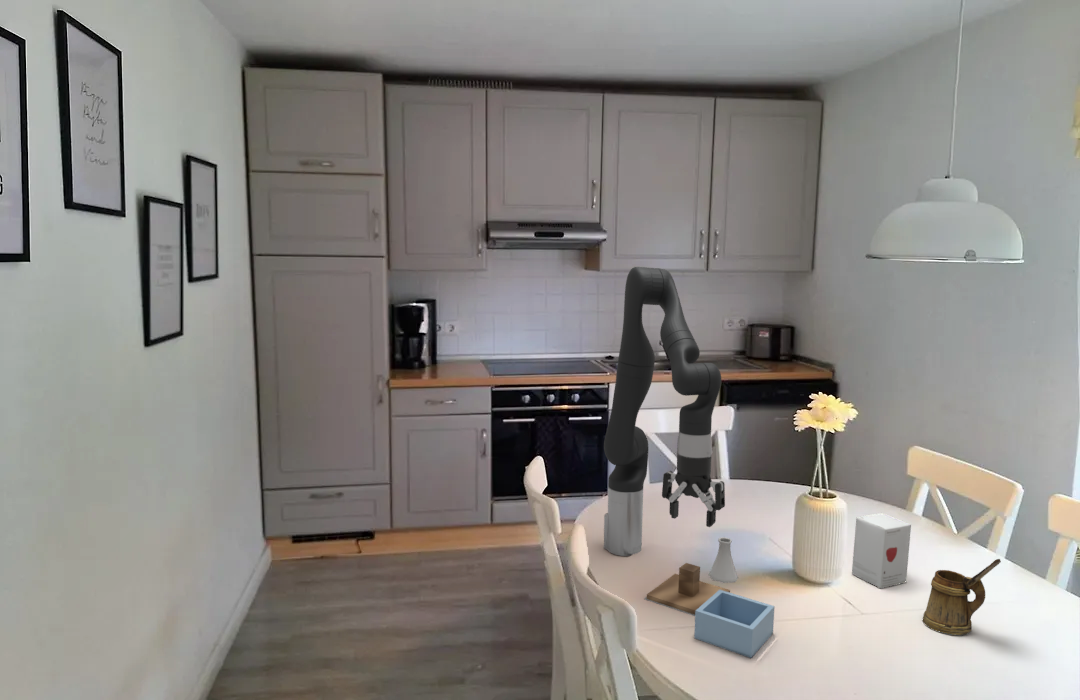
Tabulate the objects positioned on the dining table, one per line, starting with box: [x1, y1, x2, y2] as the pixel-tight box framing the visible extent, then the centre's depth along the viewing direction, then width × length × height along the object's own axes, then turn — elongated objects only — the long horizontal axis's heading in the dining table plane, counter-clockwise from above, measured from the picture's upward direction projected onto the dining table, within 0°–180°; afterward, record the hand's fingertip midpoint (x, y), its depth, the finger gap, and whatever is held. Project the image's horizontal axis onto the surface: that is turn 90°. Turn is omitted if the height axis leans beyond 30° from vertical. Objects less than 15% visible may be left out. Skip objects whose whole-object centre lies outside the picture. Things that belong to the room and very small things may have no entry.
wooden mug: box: [922, 558, 1001, 636], centre depth 152 cm, size 9×14×18 cm, turn 38°
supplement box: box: [851, 512, 912, 589], centre depth 176 cm, size 9×9×15 cm
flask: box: [708, 536, 739, 584], centre depth 176 cm, size 7×7×10 cm
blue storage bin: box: [693, 590, 776, 659], centre depth 148 cm, size 12×12×6 cm
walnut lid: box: [646, 562, 731, 615], centre depth 165 cm, size 14×14×7 cm
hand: (692, 521), depth 163 cm, fingers open, 8 cm apart
